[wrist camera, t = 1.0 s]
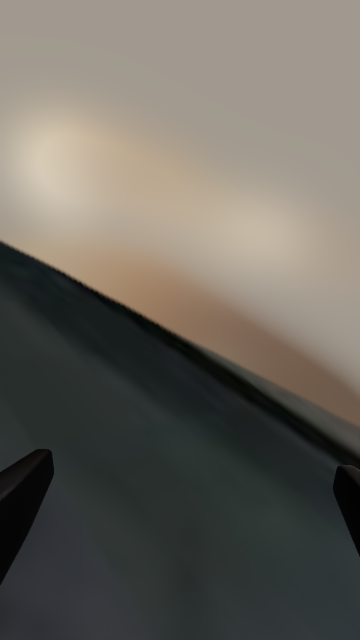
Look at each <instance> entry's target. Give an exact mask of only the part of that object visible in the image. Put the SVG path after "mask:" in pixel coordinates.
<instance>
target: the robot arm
mask: <svg viewBox="0 0 360 640" xmlns="http://www.w3.org/2000/svg"><path fill="white" fill-rule="evenodd" d="M53 475H54V465H53V458H52V452H51V451H50V450H49V449H37V450H35V451H33V452H32V453H30V454H28V455H27V456H25V457H24V458H22V459H21V460H19V461H17V462H16V463H14V464H13V465H11V466H9V467H8V468H6V469H5V470H3V471H2V472H0V585H1V583H2V581H3V579H4V578H5V576H6V574H7V572H8V570H9V568H10V566H11V565H12V563H13V561H14V559H15V557H16V555H17V553H18V552H19V550H20V548H21V546H22V544H23V542H24V540H25V538H26V536H27V535H28V532H29V530H30V528H31V526H32V524H33V522H34V519H35V517H36V515H37V512H38V510H39V508H40V506H41V503H42V501H43V499H44V497H45V494H46V492H47V490H48V487H49V485H50V483H51V481H52V478H53ZM333 492H334V495H335V498H336V500H337V503H338V505H339V508H340V510H341V512H342V515H343V517H344V520H345V522H346V525H347V527H348V530H349V532H350V535H351V537H352V539H353V542H354V544H355V547H356V549H357V551H358V554H359V556H360V470H359V469H357V468H356V467H354V466H350V465H339V466H338V467H337V470H336V474H335V479H334V484H333Z"/></svg>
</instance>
